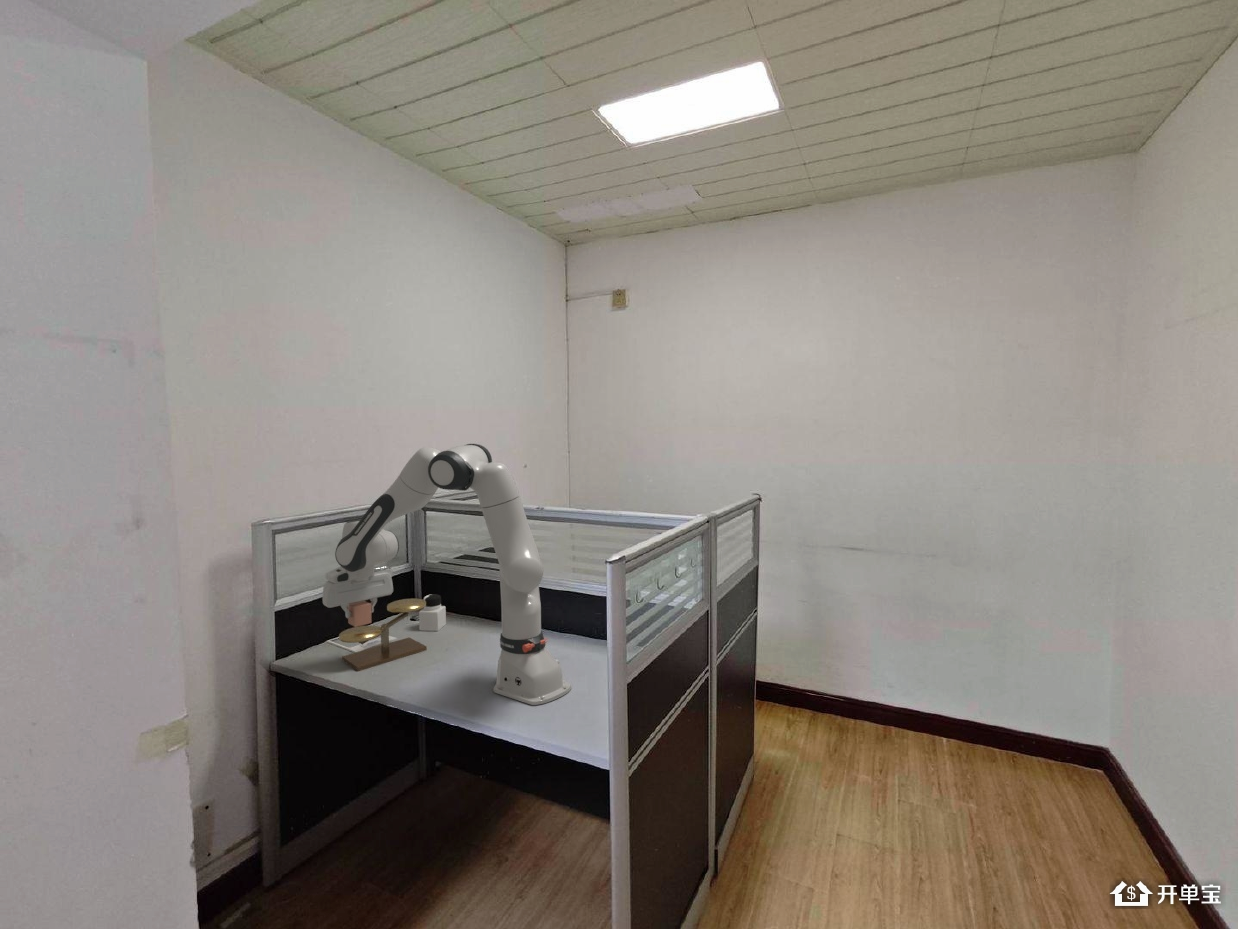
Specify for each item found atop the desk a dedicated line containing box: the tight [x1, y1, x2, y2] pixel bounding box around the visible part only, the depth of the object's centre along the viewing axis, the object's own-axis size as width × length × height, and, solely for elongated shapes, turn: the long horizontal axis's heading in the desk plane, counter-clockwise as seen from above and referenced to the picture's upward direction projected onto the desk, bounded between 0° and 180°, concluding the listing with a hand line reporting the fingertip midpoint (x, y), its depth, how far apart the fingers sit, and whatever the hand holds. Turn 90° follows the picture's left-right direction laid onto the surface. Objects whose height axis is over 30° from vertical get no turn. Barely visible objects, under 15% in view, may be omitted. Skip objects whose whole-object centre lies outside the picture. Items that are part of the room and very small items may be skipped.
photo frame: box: [326, 635, 398, 654], centre depth 187 cm, size 15×1×18 cm
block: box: [347, 600, 372, 628], centre depth 169 cm, size 5×5×6 cm
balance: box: [338, 598, 427, 672], centre depth 175 cm, size 12×27×15 cm, turn 137°
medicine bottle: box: [418, 593, 447, 632], centre depth 200 cm, size 7×7×12 cm
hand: (359, 614), depth 169 cm, fingers closed on block, 5 cm apart
